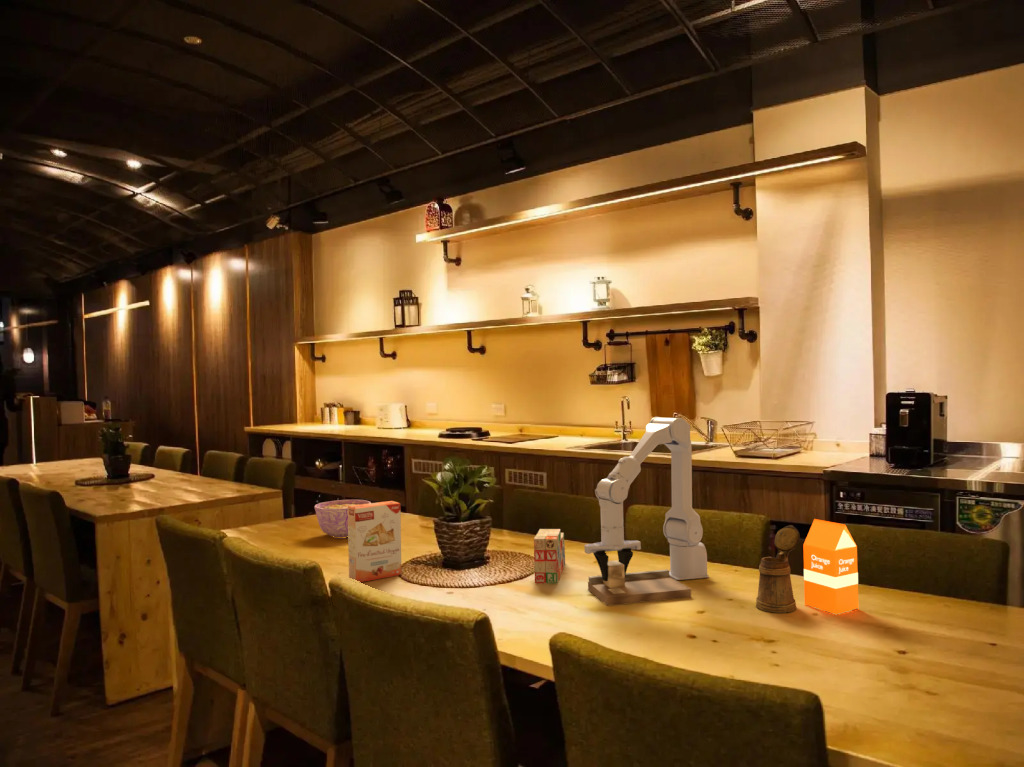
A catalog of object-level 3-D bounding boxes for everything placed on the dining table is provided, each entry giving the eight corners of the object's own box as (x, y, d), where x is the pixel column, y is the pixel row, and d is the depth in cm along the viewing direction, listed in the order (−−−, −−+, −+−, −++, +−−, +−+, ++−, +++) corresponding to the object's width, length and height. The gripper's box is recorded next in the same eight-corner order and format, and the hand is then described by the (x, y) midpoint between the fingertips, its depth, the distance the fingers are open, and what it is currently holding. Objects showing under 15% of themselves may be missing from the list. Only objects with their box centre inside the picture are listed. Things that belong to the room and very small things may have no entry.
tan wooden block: (617, 581, 188) (617, 560, 188) (625, 587, 182) (624, 565, 182) (602, 582, 187) (602, 561, 187) (610, 588, 182) (609, 566, 182)
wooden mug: (812, 602, 173) (810, 527, 173) (784, 616, 164) (782, 536, 164) (776, 594, 179) (774, 522, 179) (748, 607, 170) (746, 531, 170)
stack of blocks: (544, 563, 217) (543, 522, 217) (565, 563, 216) (564, 522, 216) (534, 583, 196) (533, 538, 196) (557, 584, 195) (556, 538, 194)
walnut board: (666, 582, 193) (666, 568, 193) (691, 597, 179) (690, 582, 179) (588, 589, 188) (587, 576, 188) (607, 605, 174) (606, 591, 174)
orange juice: (836, 615, 163) (834, 526, 163) (804, 605, 171) (802, 520, 171) (859, 609, 167) (857, 522, 167) (826, 599, 175) (824, 516, 175)
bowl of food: (365, 541, 253) (364, 508, 253) (308, 542, 253) (307, 509, 253) (376, 529, 273) (375, 498, 273) (323, 530, 273) (322, 500, 273)
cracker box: (356, 584, 199) (354, 508, 199) (348, 579, 204) (346, 505, 204) (403, 575, 207) (401, 502, 207) (393, 571, 212) (391, 499, 212)
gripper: (590, 531, 179) (591, 586, 179) (645, 527, 182) (646, 580, 182) (581, 525, 186) (582, 578, 186) (634, 521, 189) (635, 573, 189)
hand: (613, 579), depth 185 cm, fingers closed on tan wooden block, 4 cm apart
